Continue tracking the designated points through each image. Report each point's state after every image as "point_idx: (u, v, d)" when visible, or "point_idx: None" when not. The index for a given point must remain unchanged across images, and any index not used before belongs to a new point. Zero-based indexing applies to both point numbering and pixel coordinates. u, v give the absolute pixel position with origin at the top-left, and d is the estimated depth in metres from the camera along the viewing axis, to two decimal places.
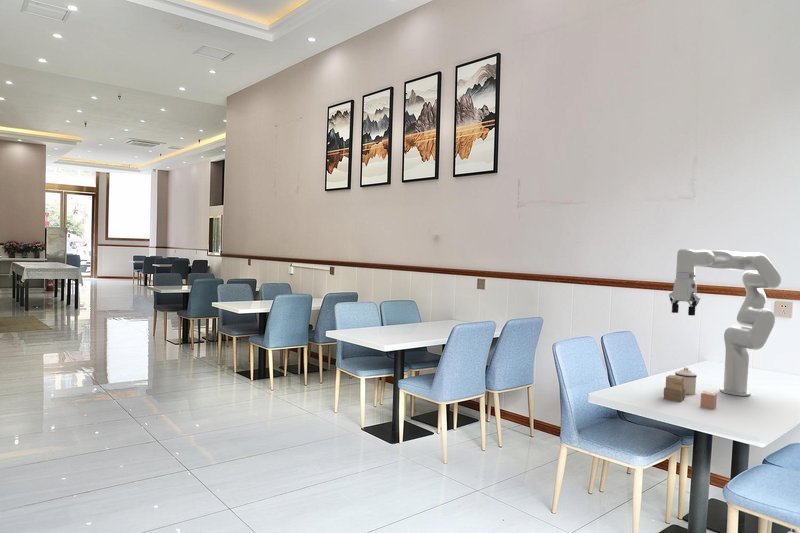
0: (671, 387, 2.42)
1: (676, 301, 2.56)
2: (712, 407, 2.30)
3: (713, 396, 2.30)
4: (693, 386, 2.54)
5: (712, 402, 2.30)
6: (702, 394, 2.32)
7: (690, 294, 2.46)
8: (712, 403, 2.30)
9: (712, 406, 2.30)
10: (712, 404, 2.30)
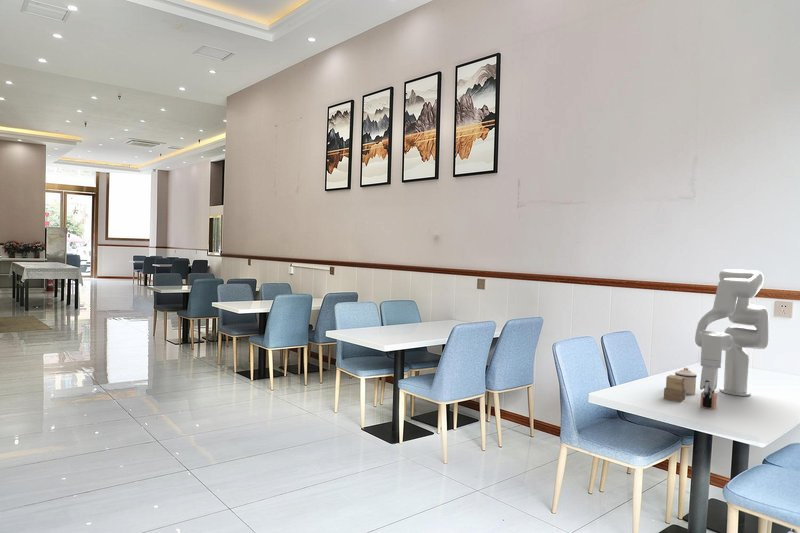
0: (671, 387, 2.42)
1: None
2: (712, 407, 2.30)
3: (713, 396, 2.30)
4: (693, 386, 2.54)
5: (712, 402, 2.30)
6: (702, 394, 2.32)
7: None
8: (712, 403, 2.30)
9: (712, 406, 2.30)
10: (712, 404, 2.30)
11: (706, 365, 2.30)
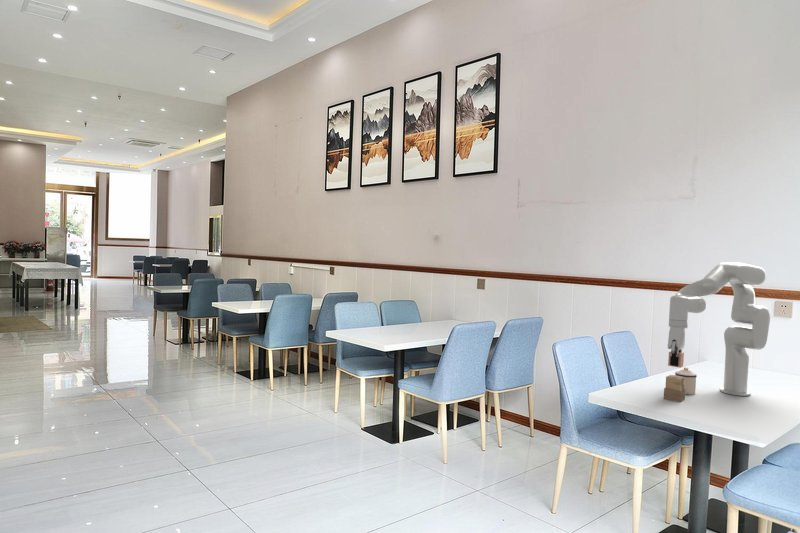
0: (671, 387, 2.42)
1: None
2: (679, 366, 2.41)
3: (680, 355, 2.40)
4: (693, 386, 2.54)
5: (679, 360, 2.41)
6: (670, 353, 2.43)
7: None
8: (679, 361, 2.41)
9: (679, 364, 2.41)
10: (679, 362, 2.41)
11: (673, 325, 2.41)
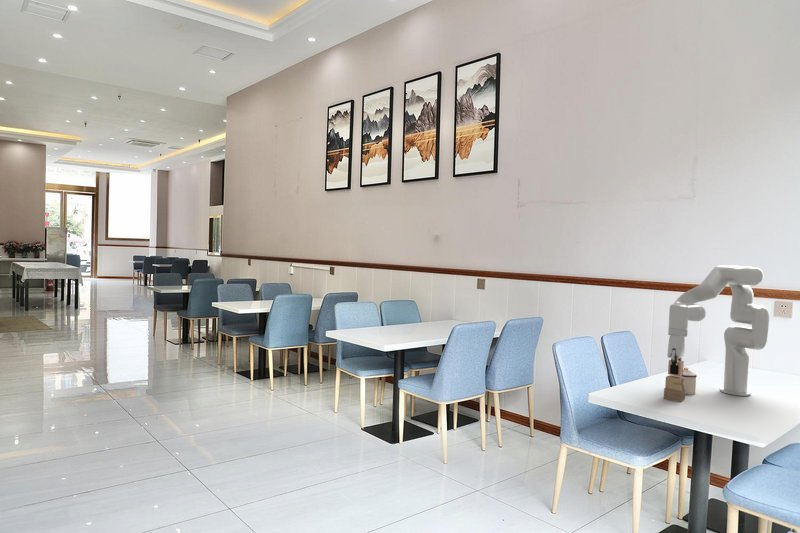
0: (671, 387, 2.42)
1: None
2: (679, 374, 2.41)
3: (680, 363, 2.41)
4: (693, 386, 2.54)
5: (679, 369, 2.41)
6: (669, 362, 2.43)
7: None
8: (679, 370, 2.41)
9: (679, 373, 2.41)
10: (679, 371, 2.41)
11: (673, 334, 2.41)
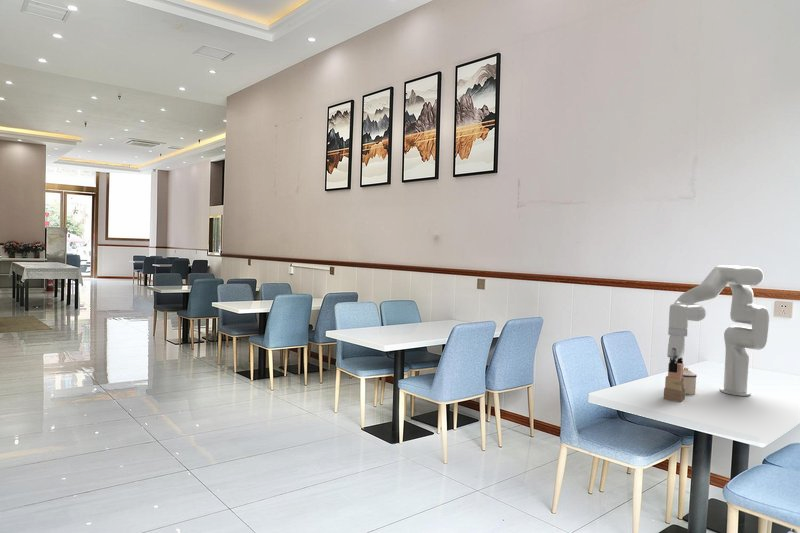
0: (670, 387, 2.42)
1: None
2: (679, 377, 2.41)
3: (680, 366, 2.41)
4: (693, 386, 2.54)
5: (679, 372, 2.41)
6: None
7: None
8: (679, 373, 2.41)
9: (679, 375, 2.41)
10: (679, 373, 2.41)
11: (673, 334, 2.41)
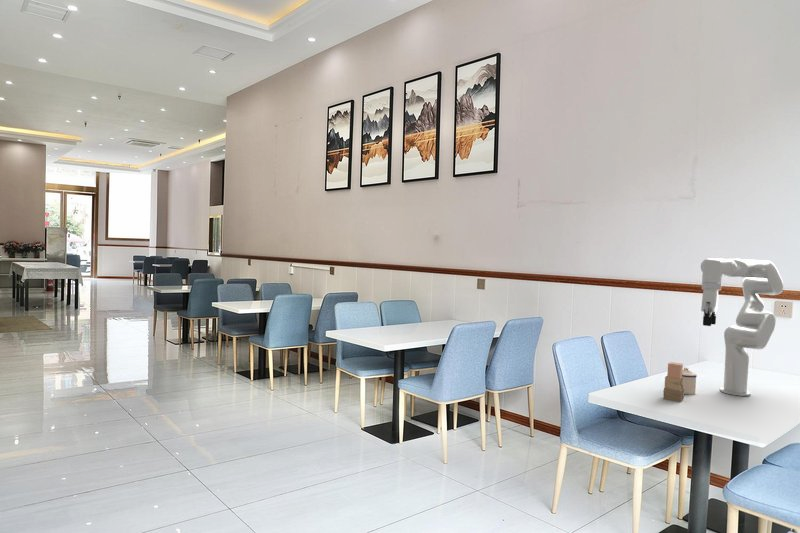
0: (670, 387, 2.42)
1: None
2: (678, 377, 2.41)
3: (679, 366, 2.41)
4: (693, 386, 2.54)
5: (678, 372, 2.41)
6: (669, 364, 2.43)
7: None
8: (678, 373, 2.41)
9: (678, 375, 2.41)
10: (678, 374, 2.41)
11: (707, 288, 2.44)
